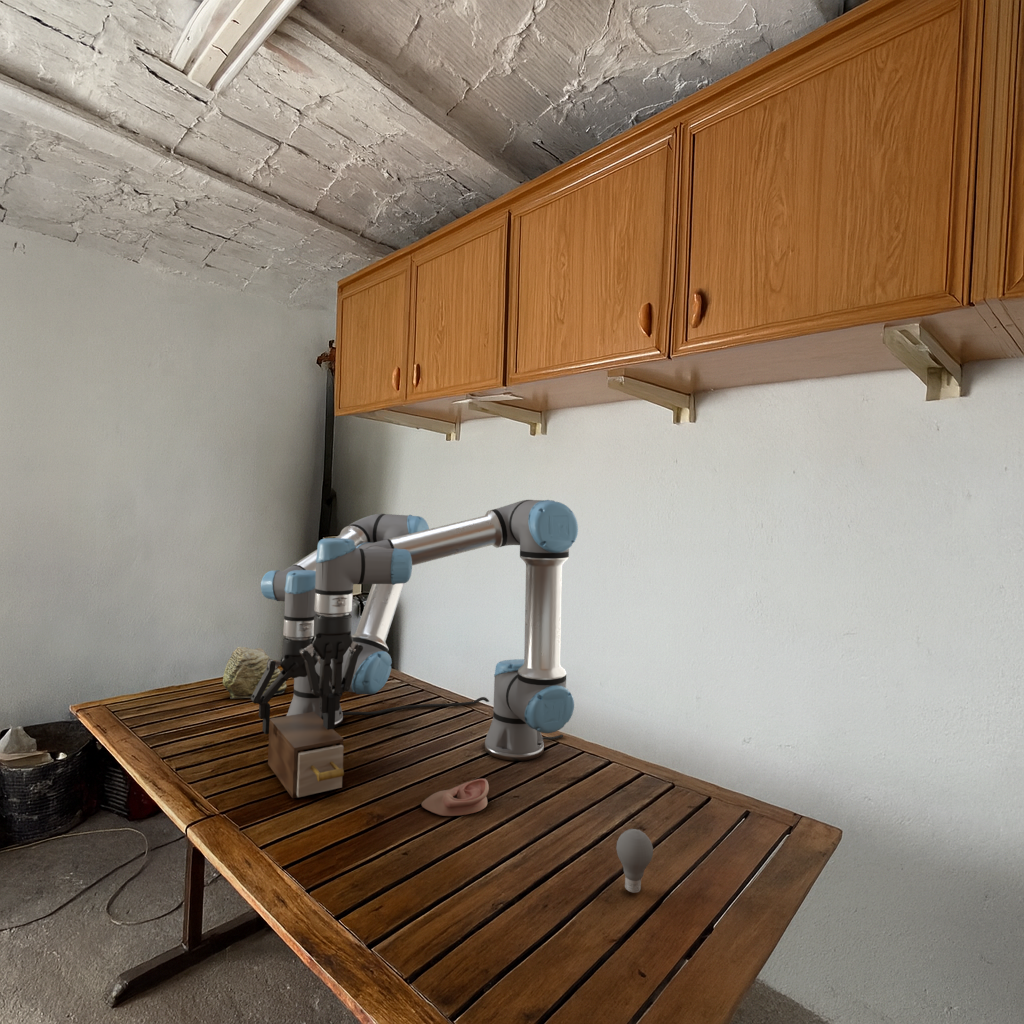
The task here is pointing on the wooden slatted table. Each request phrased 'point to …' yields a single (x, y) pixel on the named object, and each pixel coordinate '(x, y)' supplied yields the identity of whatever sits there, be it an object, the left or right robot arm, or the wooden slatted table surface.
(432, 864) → the wooden slatted table surface
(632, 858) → the light bulb
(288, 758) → the cabinet
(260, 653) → the fossil
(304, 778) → the drawer
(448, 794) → the anatomical model
